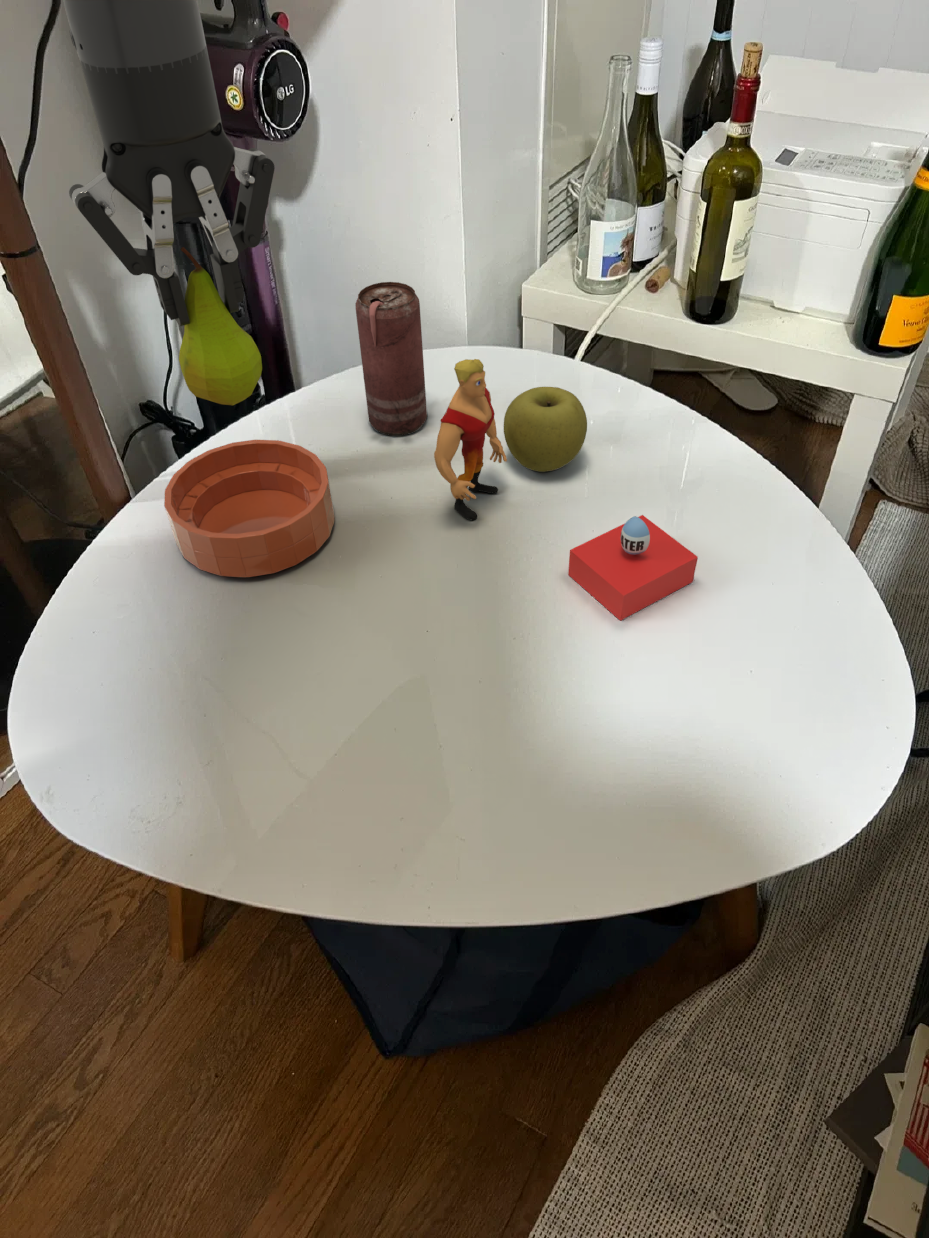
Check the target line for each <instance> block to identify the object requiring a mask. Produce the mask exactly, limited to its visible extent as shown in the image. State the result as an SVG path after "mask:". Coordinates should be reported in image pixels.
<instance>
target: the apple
mask: <svg viewBox="0 0 929 1238" xmlns="http://www.w3.org/2000/svg"><path fill="white" fill-rule="evenodd" d="M587 432H588V417H587V413H586V409H584V406H583V404H582V402H581V400H580V399H579V398H578V397H577V396H576V395H575V394H574V393H572V392H571V391H569V390H566V389H564V388H560V387H557V386H538V387H532V388H530V389H528V390H525V391H523V392H522V393H519V394H518V395H517V396H516V397H515V398H514V399H513V400H511V402H510V404H509V405H508V407H507V409H506V411H505V413H504V417H503V436H504V440H505V443H506V446H507V448H508V450H509V452H510V454H511V455H512V457H513V458H514V459H515V460H516V461H517V462H518V464H520V465H521V466H523V467H524V468H526V469H528V470H531V471H534V472H539V473H541V472H542V473H545V472H546V473H547V472H552V471H555V470H558V469H561V468H563V467H565V466H567V465H568V464H569V463H571V462H572V461H573V460H574V459H575V458H576V457H577V455H578V454H579V453H580V451H581V449H582V448H583V446H584V443H585V440H586V437H587Z"/></svg>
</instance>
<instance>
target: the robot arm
mask: <svg viewBox="0 0 929 1238" xmlns="http://www.w3.org/2000/svg"><path fill="white" fill-rule="evenodd" d="M62 1H63V7H64V10H65V14H66V18H67V21H68V25H69V35H70V36H69V37H70V39H71V43H72V45H73V47H74V49H75V50H76V53H77V56H78V59H79V63H80V67H81V70H82V74H83V76H84V81H85V84H86V88H87V92H88V95H89V98H90V102H91V105H92V109H93V112H94V116H95V119H96V122H97V126H98V127H97V128H98V130H99V133H100V137H101V141H102V145H103V146H102V147H103V156H102V160H101V171H102V172H101V173H99V174H98V175H97V176H95V177H94V178H93V179H92V180H90V181H89V182H88V183H86V184H84V185H83V184H80V183H76V184H72V185H71V187H70V188H69V190H68V195H69V198H70V200H71V201H72V202H73V204H74V206H75V207H76V208H77V209H78V211H79V213H81V215H82V216H83V217H84V219H85V220H86V221H87V222H88V223H89V225H90V226H91V227H92V228H93V229H94V231H95V232H96V233H97V234H98V235H99V237H100V238H101V240H103V241H104V243H105V244H106V245H107V247H108V248H109V249H110V250H111V251H112V253H113V254H114V255H115V256H116V258H117V259H118V261H120V262H121V264H122V265H123V266H124V268H125V269H126V270H127V271H128V272H129V273H130V274H131V275H132V276H141V275H143V274H144V275H150V276H152V279H153V283H154V285H155V286H154V287H155V289H156V293H157V296H158V301H159V305H160V307H161V309H162V310H163V312H164V313H165V314H166V315H167V317H168V318H169V319H170V321H173V320H175V321H176V323H177V324H178V325H179V327H182V326H184V325H187V324H190V320H189V316H188V312H187V308H186V304H185V296H184V293H183V289H182V285H181V281H180V276H179V275H178V274H177V273H176V271H175V265H174V251H173V250H174V249H173V245H174V242H175V235H174V224H176V223H178V222H180V221H182V220H183V219H186V218H198V219H199V221H200V222H201V225H202V227H203V230H204V232H205V234H206V236H207V239H208V241H209V244H210V245H211V249H212V252H213V253H211V254H209V256H210V261H211V265H212V269H213V274H214V278H215V282H216V287H217V291H218V293H219V295H220V297H221V299H222V301H223V303H224V305H225V306H226V308H227V310H228V311H229V313H230V314H231V313H235V312H239V311H240V308H239V303H243V302H244V298H245V297H244V296H245V291H244V287H243V281H242V278H241V272H240V267H239V263H238V259H239V256H240V254H241V253H242V252H243V251H245V250H246V249H247V248H250V249H252V248H256V247H257V246H258V245H260V242H261V239H262V233H263V230H264V229H263V228H264V224H265V218H266V213H267V209H268V203H269V199H270V195H271V188H272V183H273V178H274V174H275V168H276V167H275V163H274V161H273V160H271V158H270V157H269V156H268V155H267V154H265V153H264V152H263V151H261V150H259V149H258V148H256V147H251V148H249V149H243V148H239V147H236V146H234V145H233V142H232V141H231V140H230V139H229V137H228V135H227V134H226V131H225V130H224V128H223V124H222V118H221V112H220V107H219V102H218V97H217V93H216V87H215V82H214V77H213V71H212V67H211V62H210V61H211V60H210V57H209V52H208V47H207V41H206V37H205V32H204V31H205V30H204V27H203V21H202V17H201V12H200V7H199V1H198V0H62ZM233 166H234V175H235V178H236V179H237V181H238V182H240V183H239V187H238V194H237V199H236V203H235V204H236V205H235V210H234V215H233V221H232V225H231V226H230V225H229V222H228V219H227V217H226V213H225V211H224V209H223V207H222V204H221V201H220V198H221V196H222V193H223V190H224V188H225V185H226V182H227V181H228V177H229V175H230V173H231V171H232V168H233ZM115 190H116V191H117V192H118V193H119V194H120V195H122V196H123V197H124V198H125V199H126V200H127V201H129V203H130V204H132V206H134V207H136V209H137V210H139V211H140V220H141V228H142V231H143V235H144V246H145V248H138V247H134V246H133V245H132V244H131V242H130V241H129V240H128V238H126V237H125V235H124V233H122V231H121V230H120V229H119V227H118V226H117V225H116V224H115V222H114V221H113V220H112V219H111V217H112V216H114V214H115V212H116V205H115V203H114V201H113V199H112V198H113V197H112V195H113V193H114V191H115Z"/></svg>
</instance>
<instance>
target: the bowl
mask: <svg viewBox="0 0 929 1238" xmlns="http://www.w3.org/2000/svg"><path fill="white" fill-rule="evenodd" d="M327 469H328V468H327V467H326V465H325V464H324V463H323V461H322V460H321V459H320V457H319V456H318V455H317V454H316V453H314V452H312V451H310V450H309V449H307V448H305V447H303V446H301V445H299V444H295V443H291V442H287V441H283V440H278V439H277V440H276V439H249V440H241V441H235V442H234V441H233V442H229V443H226V444H224V445H221V446H218V447H214V448H211V449H209V450H206V451H204V452H202V453H201V454H199V455H197V456H195V457H193V458H191V459H189V460H188V461H187V462H185V464H184V465H183V466H181V467H180V468H179V469H178V470H177V471H176V472H175V473H174V474H173V475H172V476H171V479H170V480H169V482H168V483H167V486H166V487H165V489H164V499H163V501H164V503H163V504H164V505H163V506H164V509H165V512H166V515H167V519H168V521H169V524H170V527H171V531H172V534H173V537H174V540H175V543H176V545H177V547H178V549H179V551H180V554H181V555H182V557H183V558H184V559H185V560H186V561H188V562H189V563H190V564H192V565H193V566H194V567H196V568H197V569H199V570H200V571H204V572H208V573H210V574H212V575H217V576H220V577H230V578H231V577H233V578H252V577H258V576H265V575H266V576H267V575H272V574H275V573H278V572H281V571H284V570H286V569H289V568H291V567H294V566H297V565H298V564H301V562H303V561H304V560H306V559H307V558H309V557H310V556H312V555H314V554H315V553H317V552H318V551H319V550H320V549H321V547H322V546H323V545H324V543H326V541H327V540H328V539H329V537H331V533H332V530H333V526H334V523H335V520H336V519H335V512H334V506H333V500H332V495H331V488H330V482H329V476H328V470H327Z"/></svg>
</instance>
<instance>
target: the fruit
mask: <svg viewBox="0 0 929 1238" xmlns="http://www.w3.org/2000/svg"><path fill="white" fill-rule="evenodd" d="M180 251H181V252H182V253H183V254H185V255H186V257H187V258H188V259H189V260H190V261H191V262H192V264H193V266H194V267H195V268H194V269H193V270H192V271H191V272H190V274H189V275H188V279H187V284H186V289H185V294H184V300H185V304H186V308H187V312H188V316H189V320H190V324H187V325H183V326H184V328H183V329H184V330H183V331H184V332H183V336H182V340H181V344H180V347H179V354H178V361H179V362H178V363H179V366H180V370H181V373H182V376H183V379H184V382H185V384H186V387H187V388H188V391H190V393H191V394H193V396H194V397H196V398H199V399H202V400H205V401H206V400H207V401H210V402H213V403H216V404H218V405H223V406H225V405H226V406H235V405H237V404H239V403H241V402H243V401H245V400H246V399H247V398H250V397H251V396H252V395H253V392H254V390H255V388H256V386H257V384H258V381H260V378H261V376H262V371H263V363H262V356H261V355H262V354H261V352H260V350H259V348H258V346H257V344H256V342H255V341H254V339H253V337H252V335H250V334H249V333H248V332H246V330H244V329H243V328H242V327H241V326H240V325H239V324H238V323H237V322H236V320H235V318H233V316H232V314H231V313H229V311H228V310H227V308H226V306H225V305H224V303H223V301H222V299H221V297H220V295H219V292H218V288H216V286H215V284H214V282H213V279H212V277H211V275H210V274H209V272H207V270H206V269H205V268H203V267H202V265H200V263H199V262H198V261H197V260H196V259H195V257H194V256H193V255H192V254H191V253H190V252H189V251H188V250H187V249H186V248H185V247H184V246H182V247H180Z"/></svg>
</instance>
